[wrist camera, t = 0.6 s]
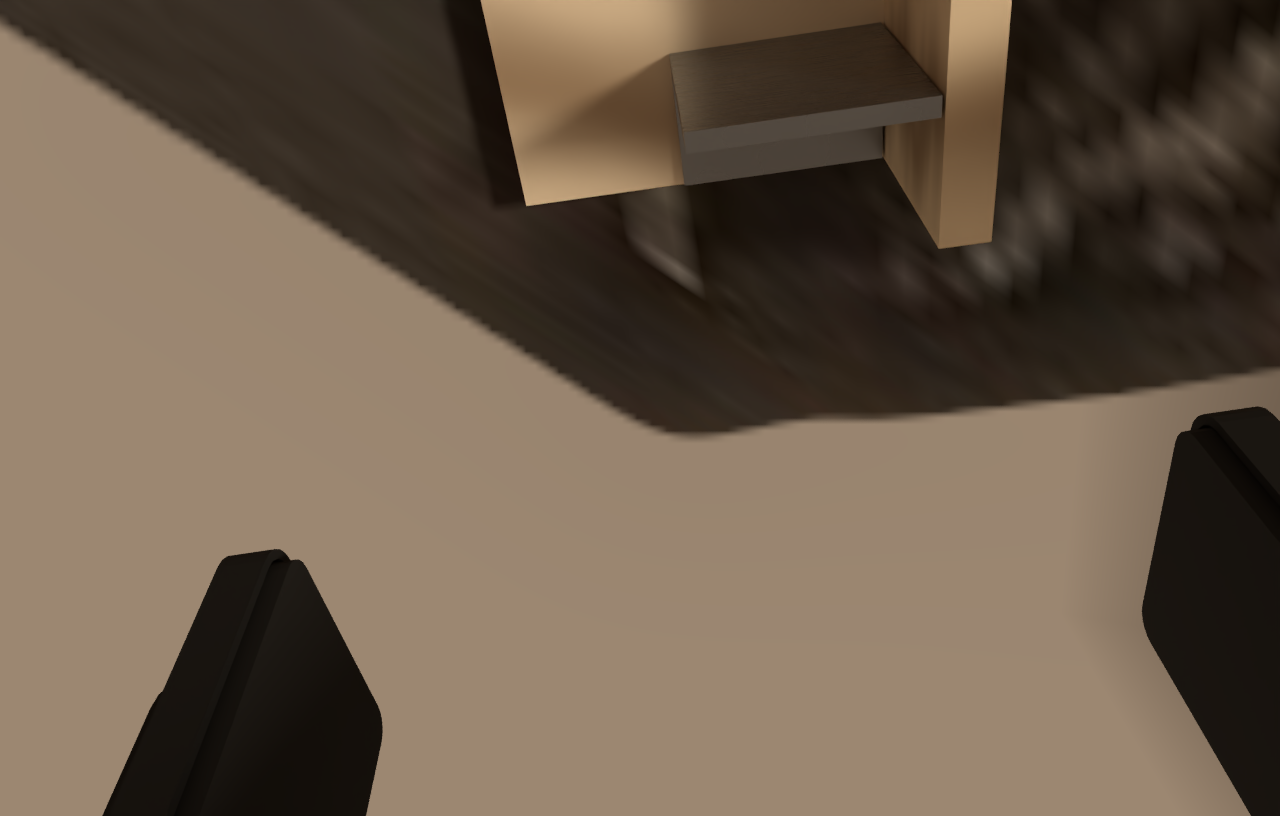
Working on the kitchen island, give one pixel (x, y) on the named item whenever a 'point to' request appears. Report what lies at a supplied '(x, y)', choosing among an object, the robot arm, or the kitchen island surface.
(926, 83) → the bookend
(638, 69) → the shelf
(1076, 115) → the kitchen island surface
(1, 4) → the kitchen island surface
